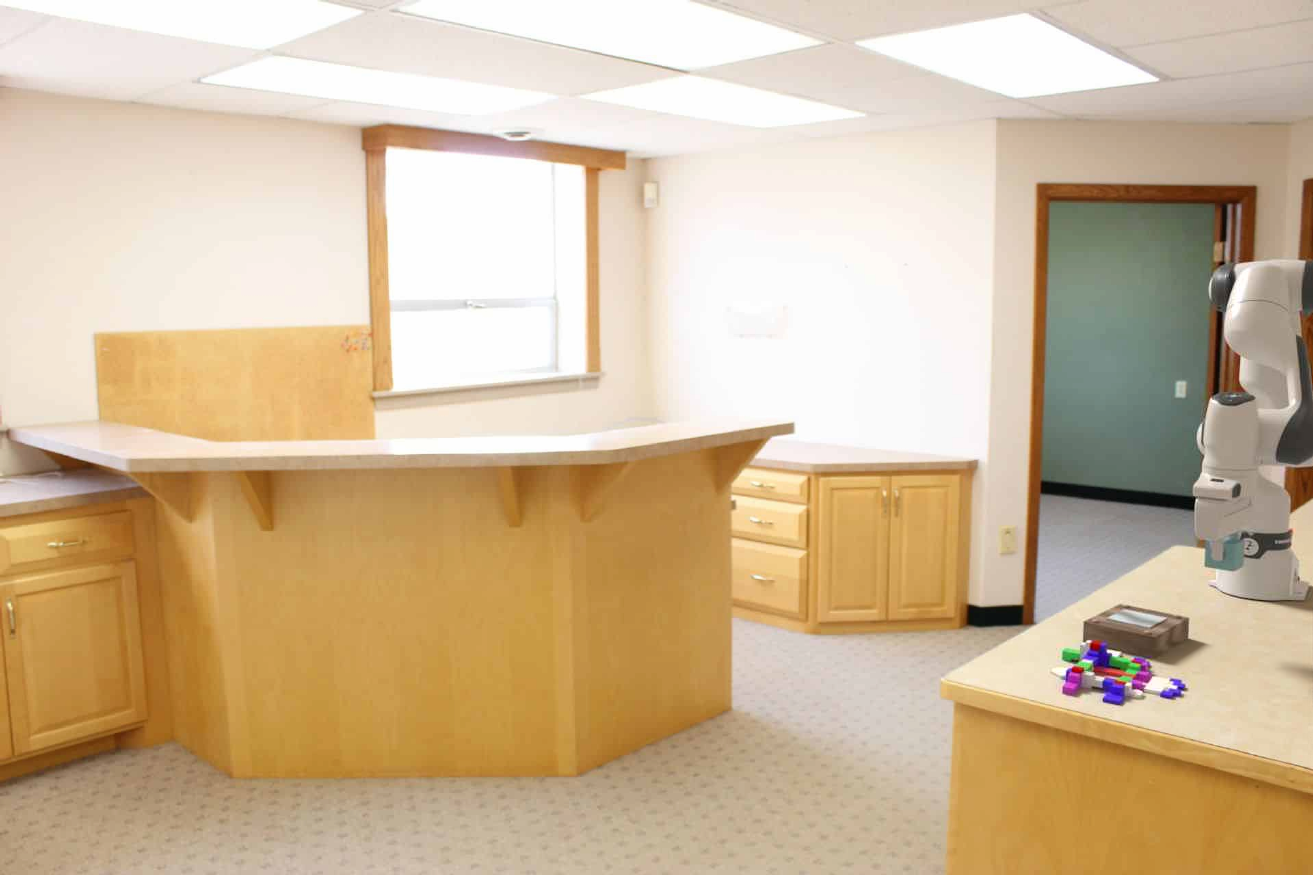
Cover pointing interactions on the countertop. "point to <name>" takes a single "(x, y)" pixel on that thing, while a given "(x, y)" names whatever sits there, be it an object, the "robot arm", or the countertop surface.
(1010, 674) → the countertop surface
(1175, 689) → the building block set
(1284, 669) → the countertop surface
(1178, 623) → the plinth
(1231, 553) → the teal block
